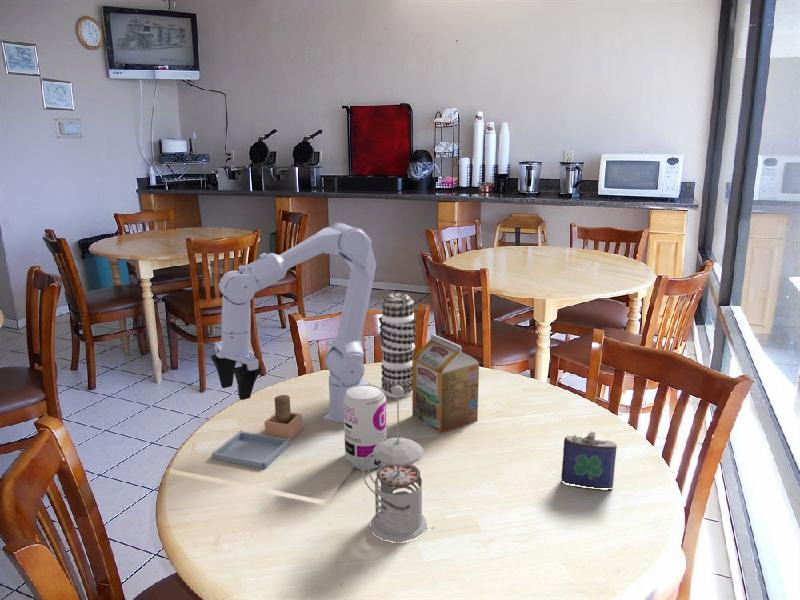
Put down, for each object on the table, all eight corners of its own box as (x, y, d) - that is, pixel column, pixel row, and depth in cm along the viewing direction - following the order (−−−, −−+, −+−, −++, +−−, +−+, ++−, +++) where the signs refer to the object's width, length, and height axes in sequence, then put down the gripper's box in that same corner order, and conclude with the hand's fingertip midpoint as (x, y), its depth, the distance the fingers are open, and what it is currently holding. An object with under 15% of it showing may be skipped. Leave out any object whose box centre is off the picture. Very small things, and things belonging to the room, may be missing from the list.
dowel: (294, 429, 133) (292, 396, 131) (287, 436, 130) (284, 402, 128) (281, 427, 134) (279, 394, 132) (273, 434, 131) (271, 400, 129)
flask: (612, 484, 113) (617, 432, 110) (613, 493, 110) (618, 439, 107) (561, 477, 115) (564, 426, 112) (560, 485, 113) (564, 433, 110)
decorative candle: (409, 400, 148) (409, 302, 142) (374, 395, 152) (372, 298, 145) (421, 386, 157) (421, 292, 150) (388, 381, 160) (387, 289, 153)
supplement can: (393, 455, 123) (392, 387, 119) (374, 475, 116) (373, 403, 112) (358, 447, 127) (356, 380, 123) (338, 466, 120) (335, 396, 116)
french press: (408, 551, 95) (408, 404, 89) (349, 527, 101) (344, 388, 95) (438, 518, 103) (440, 382, 97) (381, 497, 109) (379, 367, 103)
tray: (290, 447, 127) (290, 439, 126) (265, 471, 118) (264, 463, 117) (240, 438, 131) (240, 430, 130) (212, 461, 122) (211, 453, 121)
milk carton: (477, 420, 138) (479, 341, 133) (440, 433, 132) (441, 351, 127) (448, 404, 146) (449, 329, 141) (412, 415, 141) (412, 338, 136)
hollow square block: (302, 430, 134) (301, 413, 133) (289, 442, 129) (288, 425, 128) (279, 426, 136) (278, 410, 135) (265, 438, 131) (264, 421, 129)
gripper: (201, 324, 126) (201, 385, 130) (236, 342, 116) (235, 408, 119) (232, 319, 131) (231, 379, 134) (268, 337, 121) (266, 400, 124)
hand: (235, 392), depth 127 cm, fingers open, 7 cm apart
